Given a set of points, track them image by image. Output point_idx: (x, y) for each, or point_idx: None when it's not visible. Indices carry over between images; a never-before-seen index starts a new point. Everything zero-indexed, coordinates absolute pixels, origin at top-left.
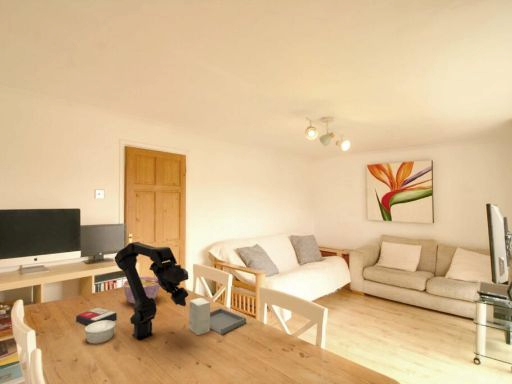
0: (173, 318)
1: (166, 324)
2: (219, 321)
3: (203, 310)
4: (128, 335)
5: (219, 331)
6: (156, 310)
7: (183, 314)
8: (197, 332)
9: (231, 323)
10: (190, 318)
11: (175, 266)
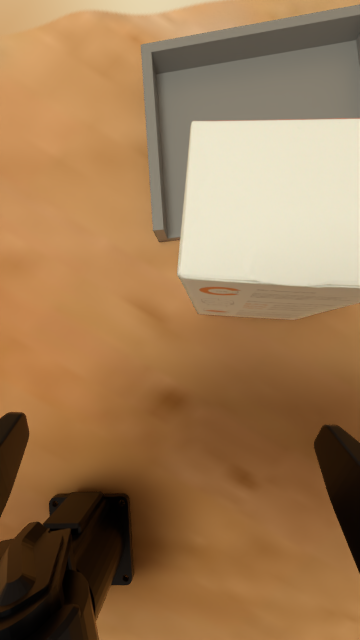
0: (28, 312)
1: (66, 377)
2: None
3: None
4: None
5: None
6: (78, 613)
7: (23, 245)
8: (299, 318)
9: (320, 103)
10: (212, 307)
11: None
